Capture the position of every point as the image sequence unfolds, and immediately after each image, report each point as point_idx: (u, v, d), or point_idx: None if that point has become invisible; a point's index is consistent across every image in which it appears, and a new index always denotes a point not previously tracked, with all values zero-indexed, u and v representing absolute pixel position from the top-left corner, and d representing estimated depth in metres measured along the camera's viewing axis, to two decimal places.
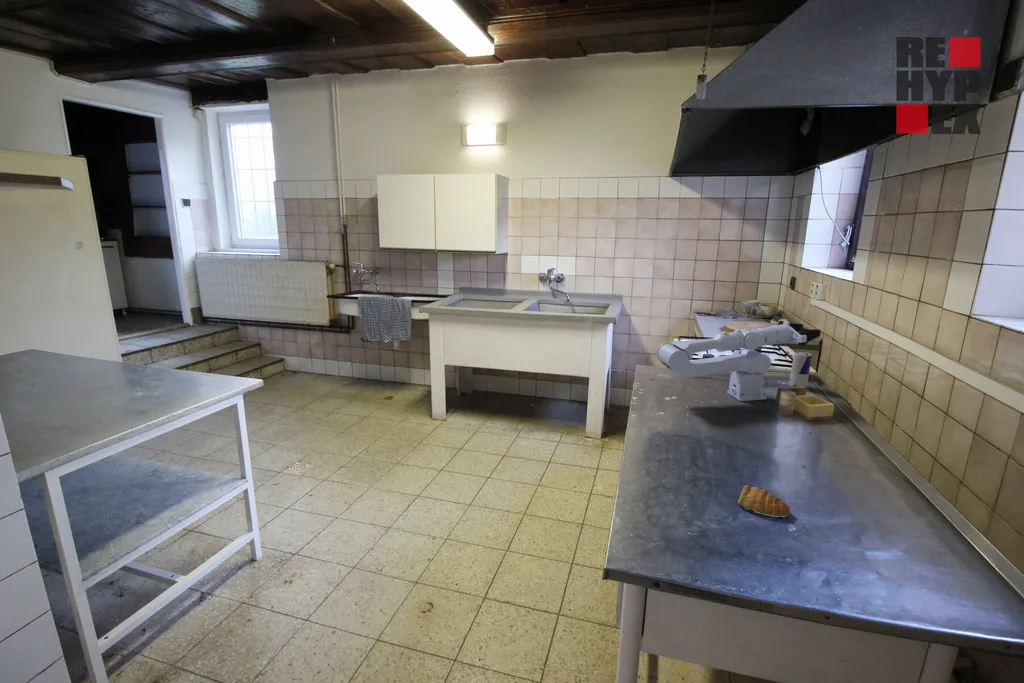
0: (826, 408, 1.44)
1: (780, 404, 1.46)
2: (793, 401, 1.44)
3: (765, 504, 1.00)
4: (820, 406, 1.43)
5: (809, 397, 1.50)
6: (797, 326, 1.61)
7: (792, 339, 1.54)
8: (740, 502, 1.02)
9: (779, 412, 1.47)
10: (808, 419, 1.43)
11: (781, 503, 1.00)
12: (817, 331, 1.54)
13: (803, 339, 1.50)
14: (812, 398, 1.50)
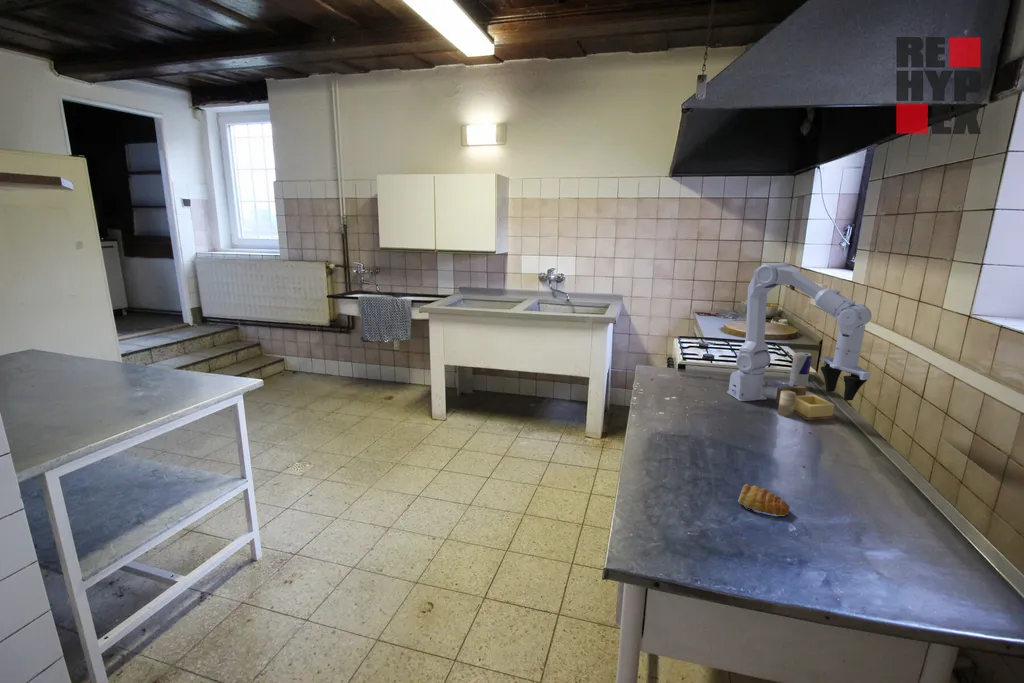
0: (826, 408, 1.44)
1: (780, 404, 1.46)
2: (793, 401, 1.44)
3: (765, 503, 1.00)
4: (820, 406, 1.43)
5: (809, 397, 1.50)
6: None
7: None
8: (740, 501, 1.03)
9: (779, 412, 1.47)
10: (808, 419, 1.43)
11: (781, 502, 1.00)
12: None
13: None
14: (812, 398, 1.50)
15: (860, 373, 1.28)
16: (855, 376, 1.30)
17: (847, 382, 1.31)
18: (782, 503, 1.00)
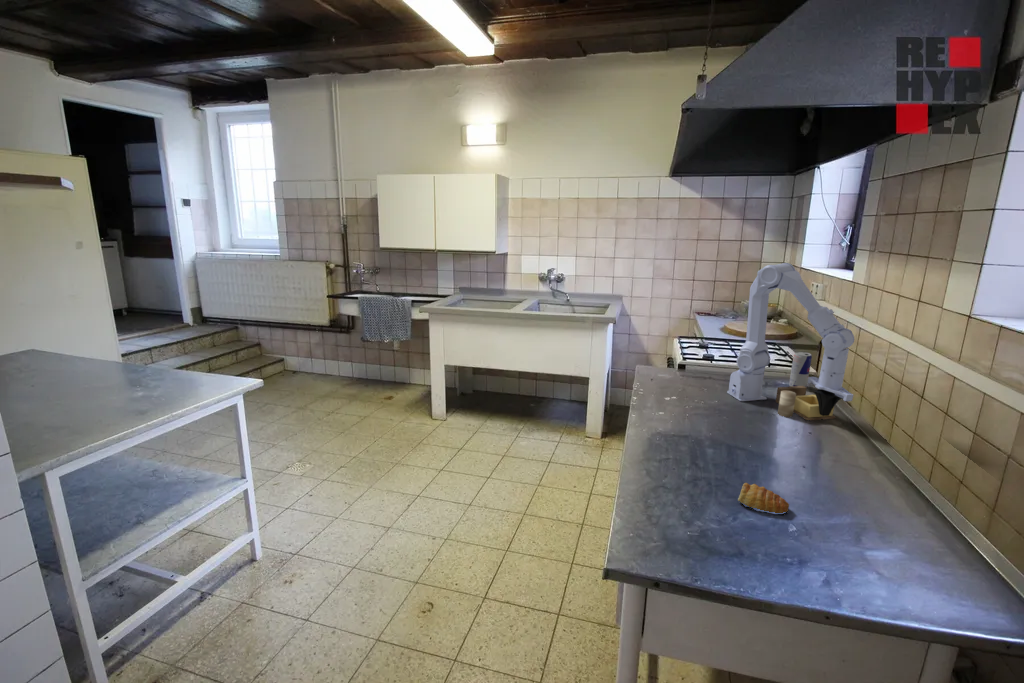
0: None
1: (780, 404, 1.46)
2: (793, 401, 1.44)
3: (765, 501, 1.01)
4: None
5: (809, 397, 1.50)
6: None
7: None
8: (740, 500, 1.03)
9: (779, 412, 1.47)
10: (808, 419, 1.43)
11: (781, 500, 1.01)
12: None
13: None
14: (812, 398, 1.50)
15: (843, 394, 1.34)
16: (831, 393, 1.39)
17: (823, 399, 1.39)
18: (782, 501, 1.01)
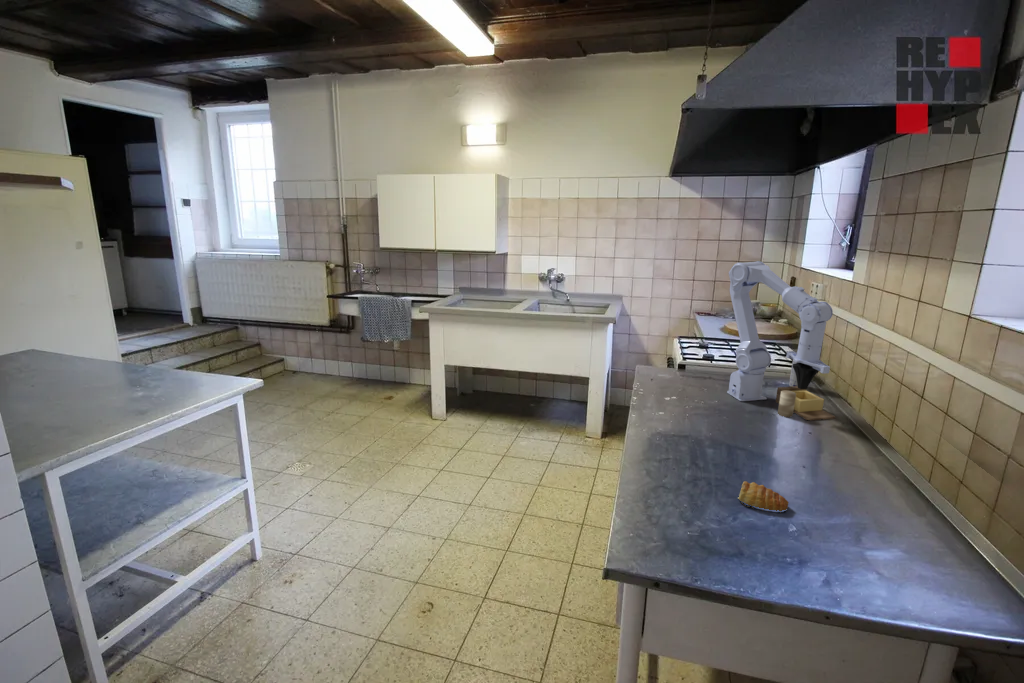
0: (816, 403, 1.47)
1: (780, 404, 1.46)
2: (793, 401, 1.44)
3: (765, 499, 1.01)
4: (810, 401, 1.47)
5: (800, 392, 1.54)
6: None
7: None
8: (740, 498, 1.03)
9: (779, 412, 1.47)
10: (808, 419, 1.43)
11: (780, 497, 1.02)
12: None
13: None
14: (803, 393, 1.54)
15: (820, 367, 1.35)
16: (808, 366, 1.40)
17: (801, 372, 1.41)
18: (781, 499, 1.02)
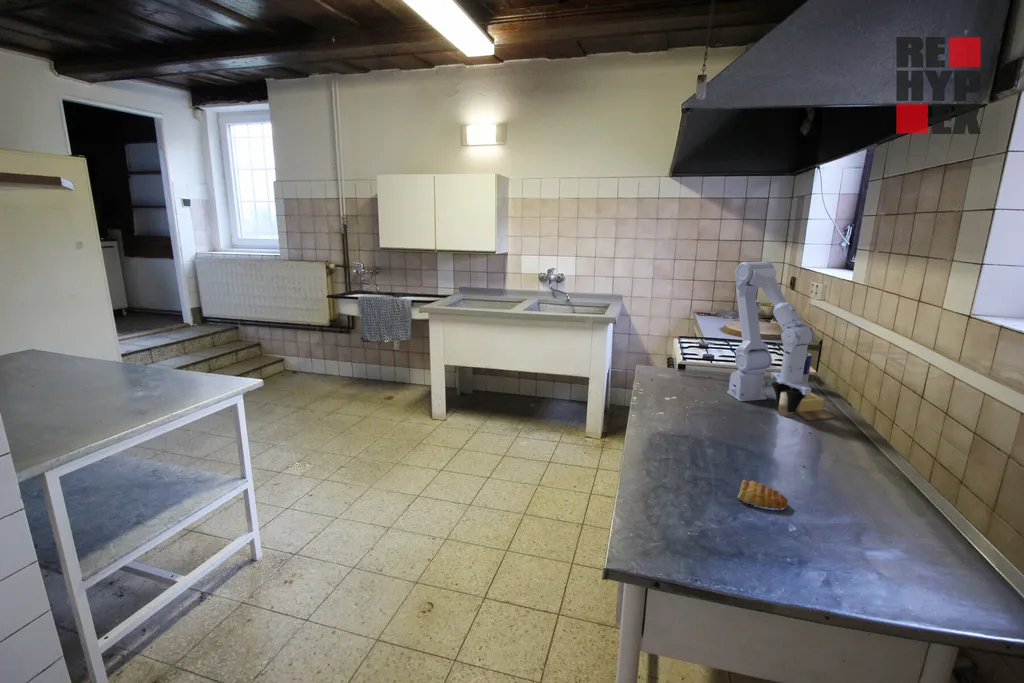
0: (816, 403, 1.47)
1: (780, 404, 1.46)
2: None
3: (765, 498, 1.02)
4: (810, 401, 1.47)
5: None
6: None
7: None
8: (740, 497, 1.04)
9: (779, 412, 1.47)
10: (808, 419, 1.43)
11: (779, 495, 1.02)
12: None
13: None
14: None
15: (802, 388, 1.38)
16: (796, 390, 1.41)
17: (789, 395, 1.42)
18: (781, 497, 1.02)
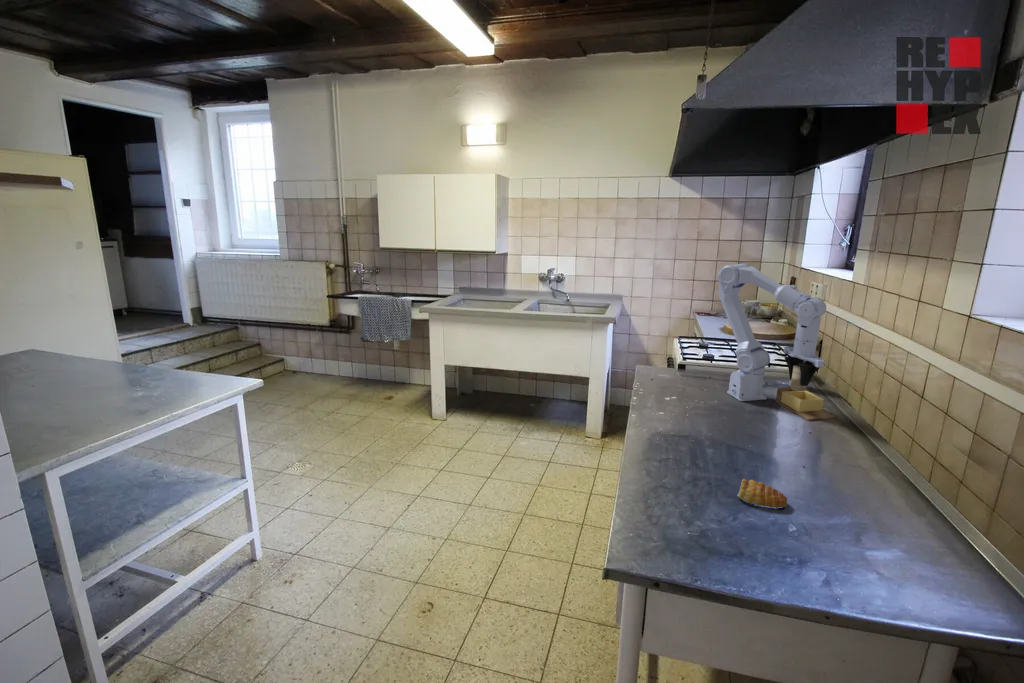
0: (816, 403, 1.47)
1: (793, 378, 1.47)
2: None
3: (765, 496, 1.02)
4: (810, 401, 1.47)
5: (800, 392, 1.54)
6: None
7: None
8: (740, 496, 1.04)
9: (792, 386, 1.47)
10: (808, 419, 1.43)
11: (779, 494, 1.03)
12: None
13: None
14: (803, 393, 1.54)
15: (815, 361, 1.39)
16: (809, 363, 1.42)
17: (802, 368, 1.42)
18: (780, 495, 1.03)
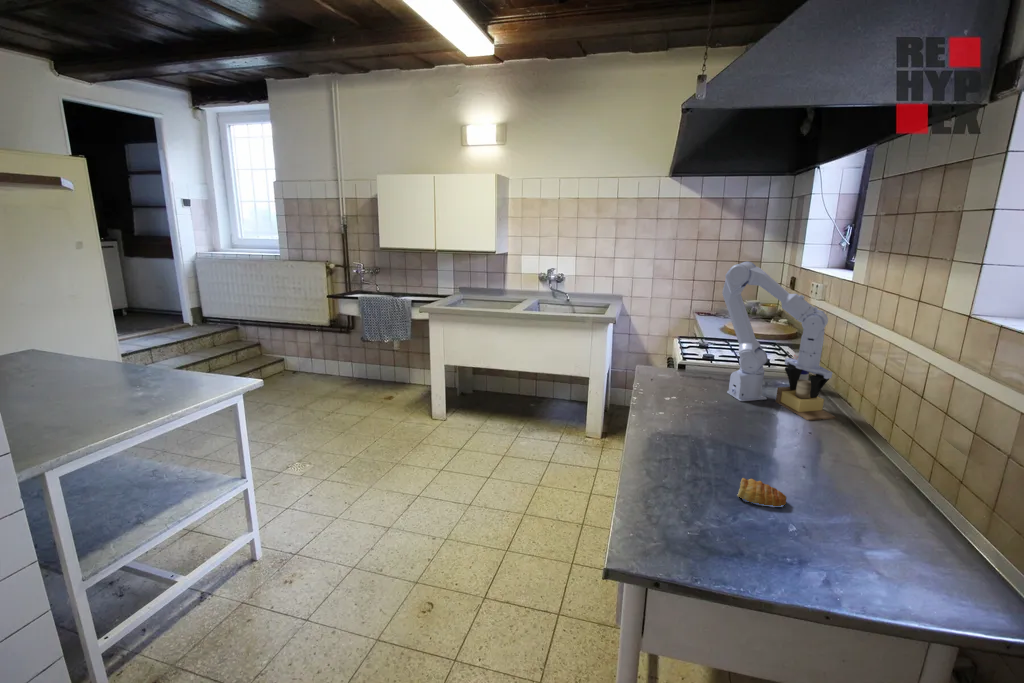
0: (816, 403, 1.47)
1: (798, 393, 1.50)
2: (810, 389, 1.48)
3: (764, 495, 1.03)
4: (810, 401, 1.47)
5: None
6: None
7: None
8: (740, 495, 1.05)
9: None
10: (808, 419, 1.43)
11: (778, 493, 1.03)
12: None
13: None
14: None
15: (824, 373, 1.42)
16: (820, 376, 1.44)
17: (813, 382, 1.44)
18: (780, 494, 1.03)
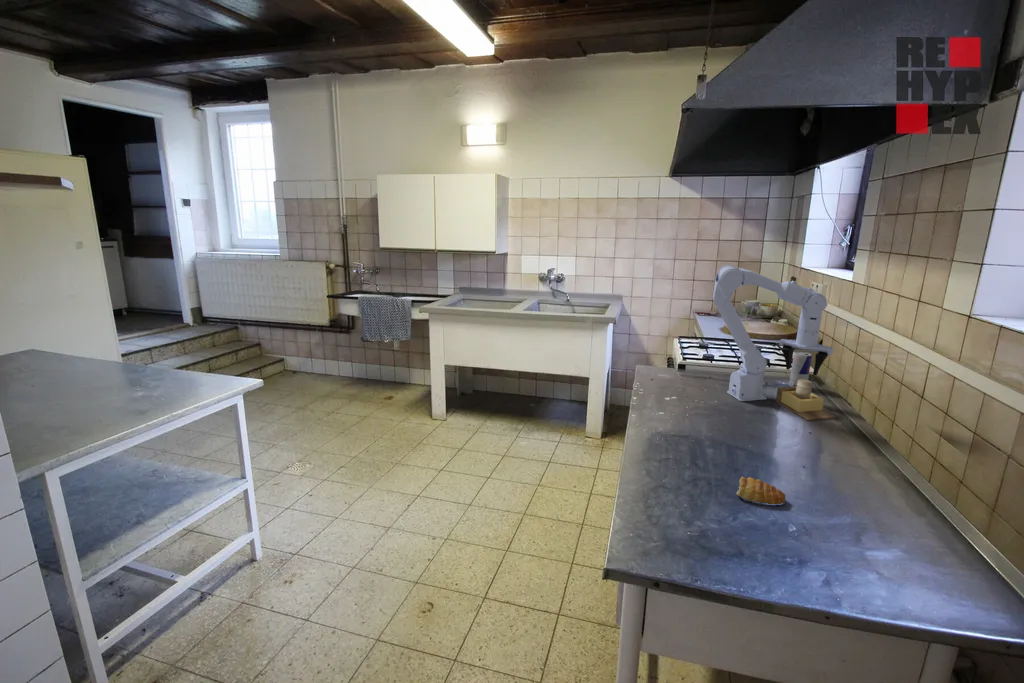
0: (816, 403, 1.47)
1: (798, 393, 1.50)
2: (810, 389, 1.48)
3: (764, 494, 1.03)
4: (810, 401, 1.47)
5: None
6: None
7: (796, 342, 1.55)
8: (740, 494, 1.05)
9: None
10: (808, 419, 1.43)
11: (777, 491, 1.04)
12: None
13: None
14: None
15: (828, 349, 1.47)
16: (824, 353, 1.49)
17: (819, 359, 1.48)
18: (779, 492, 1.04)
